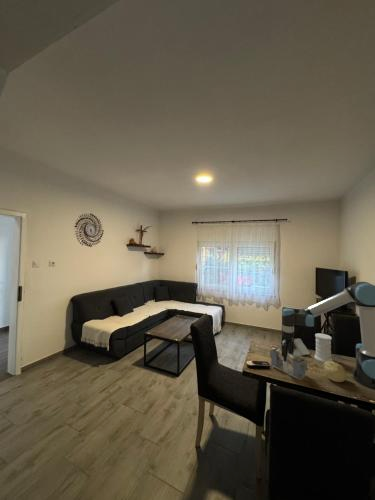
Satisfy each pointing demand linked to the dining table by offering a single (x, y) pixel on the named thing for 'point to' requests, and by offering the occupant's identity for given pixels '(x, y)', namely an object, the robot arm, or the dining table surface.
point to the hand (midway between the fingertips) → (287, 364)
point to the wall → (299, 348)
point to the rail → (290, 357)
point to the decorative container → (323, 347)
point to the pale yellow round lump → (334, 371)
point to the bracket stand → (294, 371)
